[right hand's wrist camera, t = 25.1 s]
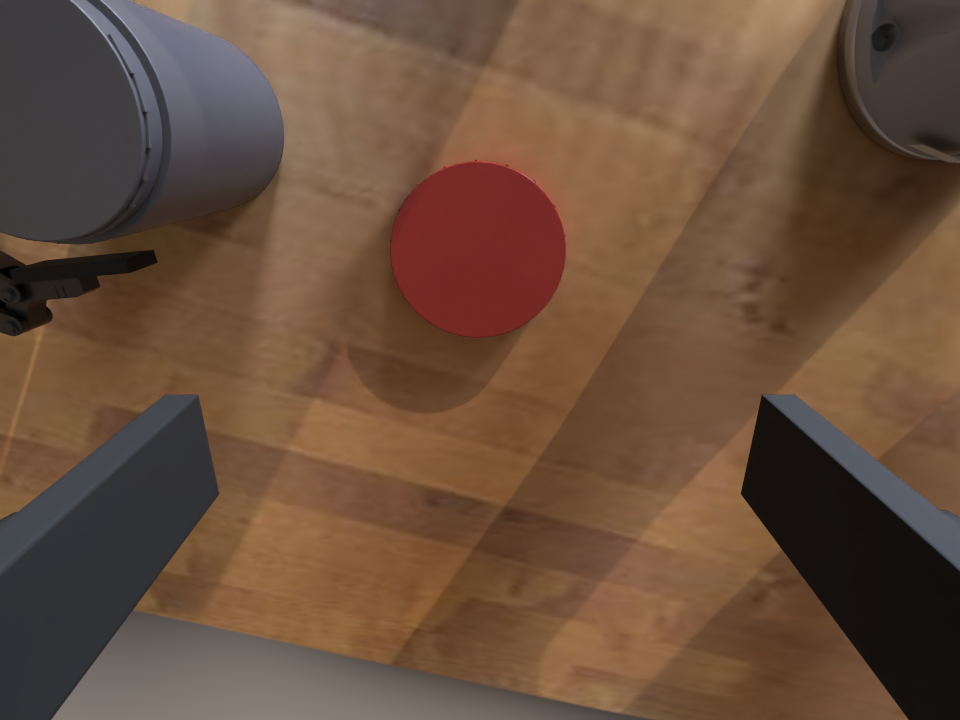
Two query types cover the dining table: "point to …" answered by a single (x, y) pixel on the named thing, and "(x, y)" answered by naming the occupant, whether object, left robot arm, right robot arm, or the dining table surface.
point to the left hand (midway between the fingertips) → (100, 130)
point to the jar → (124, 121)
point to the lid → (478, 249)
